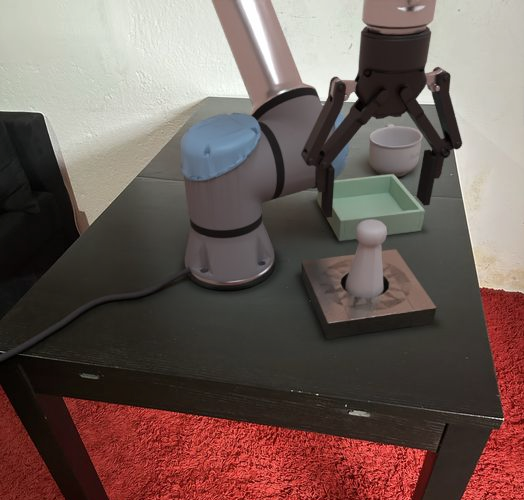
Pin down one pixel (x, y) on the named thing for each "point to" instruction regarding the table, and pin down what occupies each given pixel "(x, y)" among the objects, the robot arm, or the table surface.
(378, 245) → the salt shaker
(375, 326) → the drain plate
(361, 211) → the green square tray
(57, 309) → the table surface
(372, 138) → the teacup
